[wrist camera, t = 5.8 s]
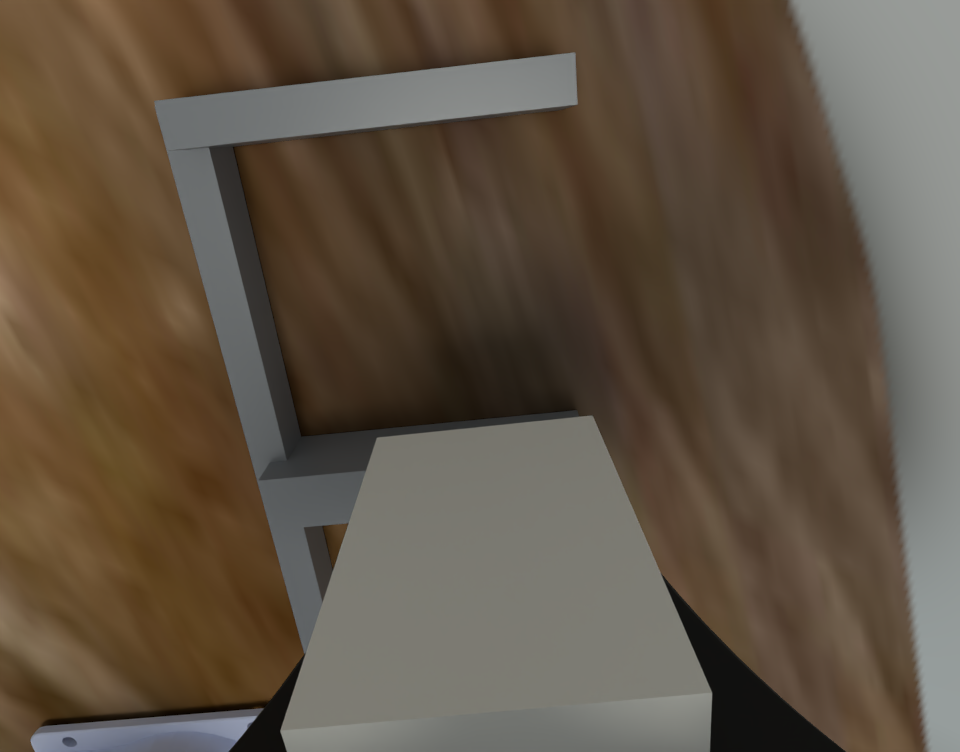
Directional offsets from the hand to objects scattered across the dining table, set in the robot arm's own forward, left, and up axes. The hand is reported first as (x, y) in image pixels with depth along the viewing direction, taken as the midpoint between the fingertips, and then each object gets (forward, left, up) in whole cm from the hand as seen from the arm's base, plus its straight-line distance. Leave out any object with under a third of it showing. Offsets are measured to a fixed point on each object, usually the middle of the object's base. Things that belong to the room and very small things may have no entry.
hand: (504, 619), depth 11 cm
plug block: (0, 0, -2) cm, 2 cm away
